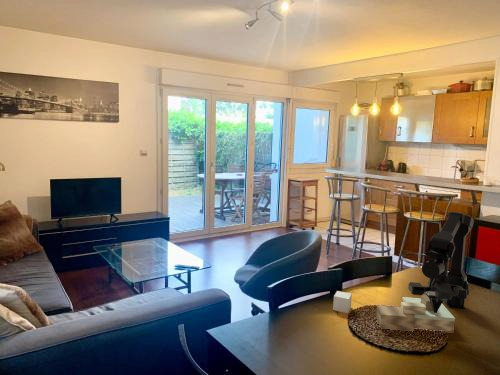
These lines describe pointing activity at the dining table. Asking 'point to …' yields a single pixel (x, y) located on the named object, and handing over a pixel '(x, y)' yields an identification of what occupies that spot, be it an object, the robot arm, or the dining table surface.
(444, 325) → the beige rectangular tray
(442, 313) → the lid
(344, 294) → the white cube block
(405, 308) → the beige rectangular block
